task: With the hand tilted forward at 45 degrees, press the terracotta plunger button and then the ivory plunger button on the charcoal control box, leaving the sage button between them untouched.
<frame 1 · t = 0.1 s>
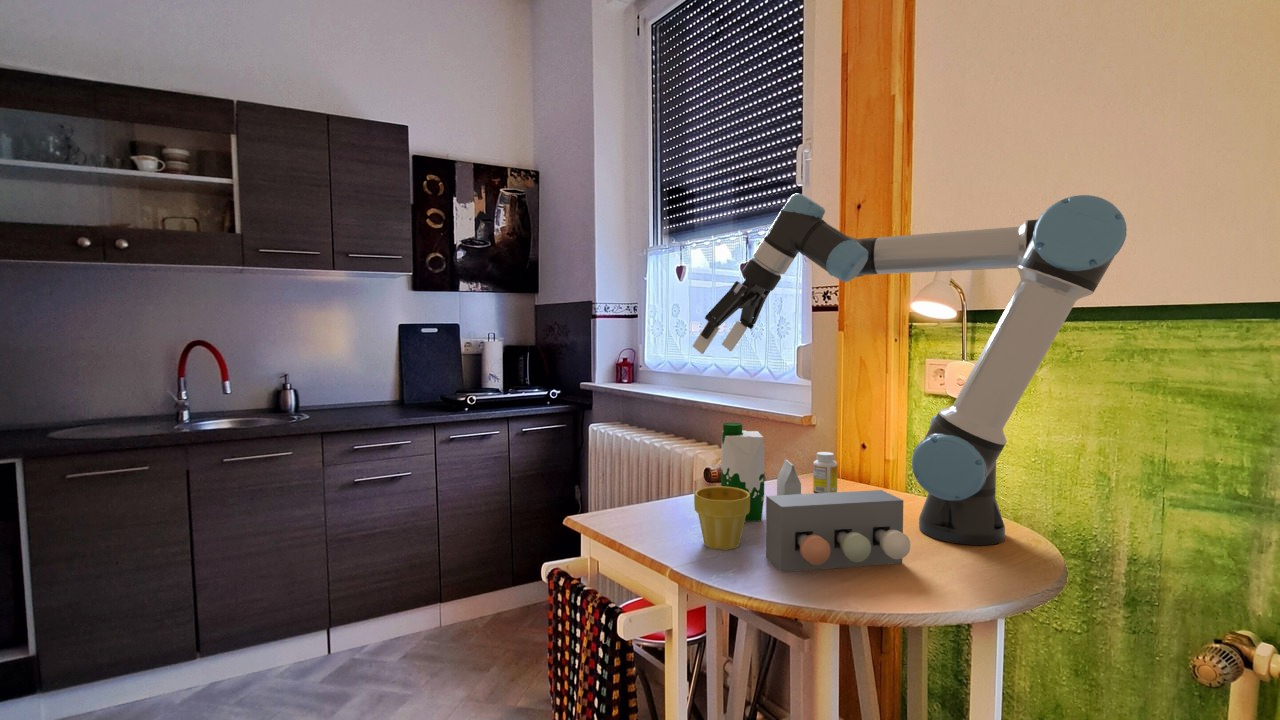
hand: (712, 349, 141), 36 cm above the table, tool tilted 35°, fingers open, 13 cm apart
control box: (833, 560, 113), on the table
ivory button: (888, 540, 108), point 5 cm above the table, slide at 0.0 cm
sage button: (849, 542, 107), point 5 cm above the table, slide at 0.0 cm
white gabled block: (788, 507, 147), on the table
supplement bottle: (825, 496, 156), on the table
terracotta button: (809, 545, 106), point 5 cm above the table, slide at 0.0 cm
plant pot: (722, 545, 122), on the table
milk carton: (742, 517, 139), on the table
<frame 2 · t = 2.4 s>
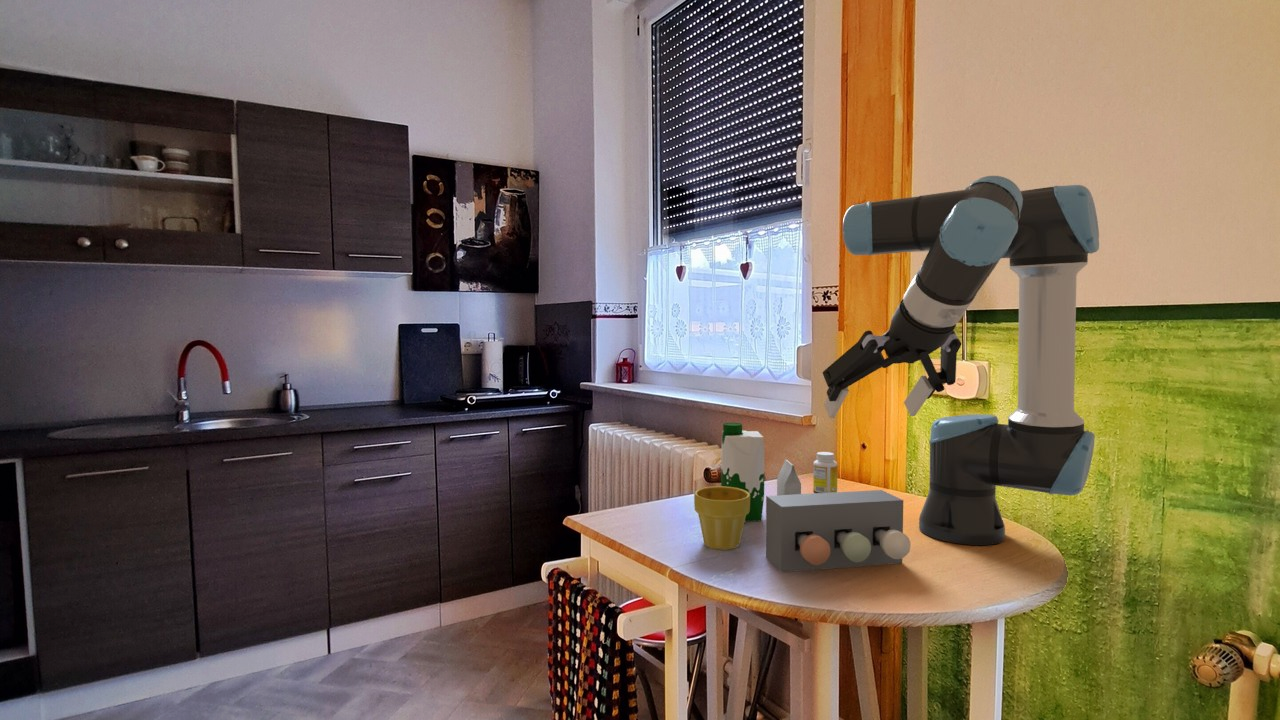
hand: (869, 410, 101), 28 cm above the table, tool tilted 45°, fingers open, 13 cm apart
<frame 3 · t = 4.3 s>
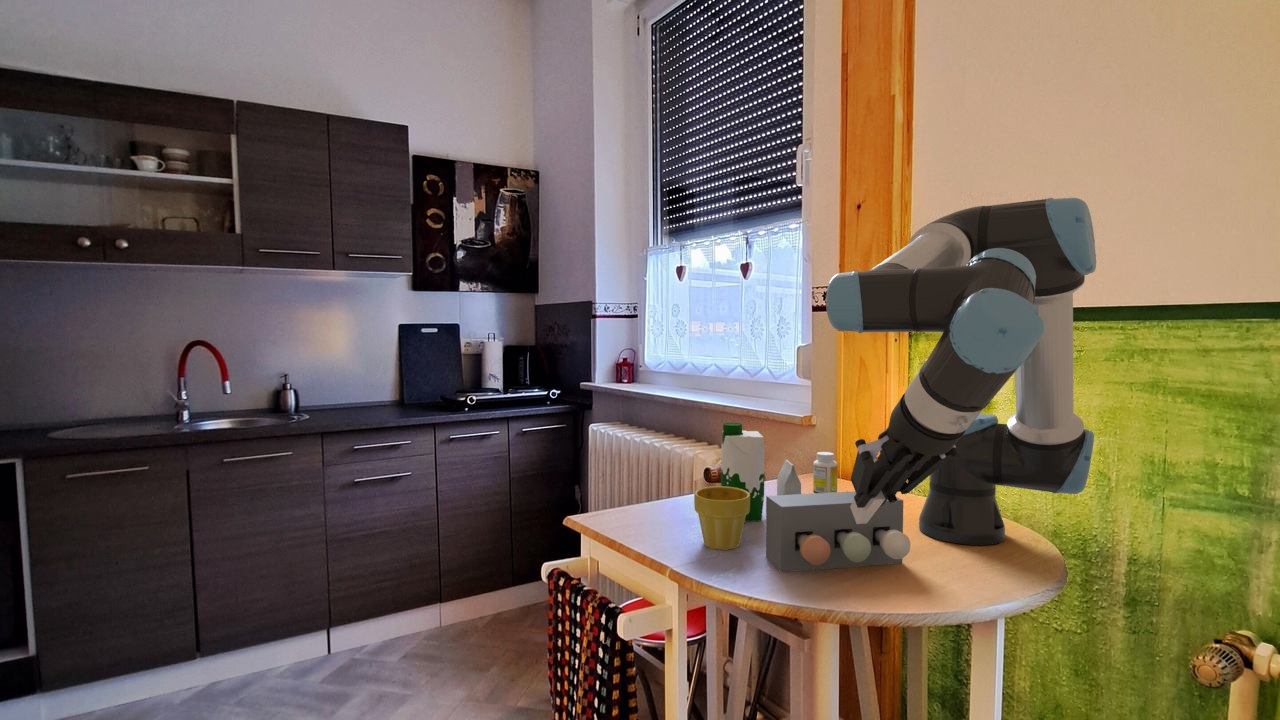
hand: (858, 514, 90), 15 cm above the table, tool tilted 45°, fingers closed
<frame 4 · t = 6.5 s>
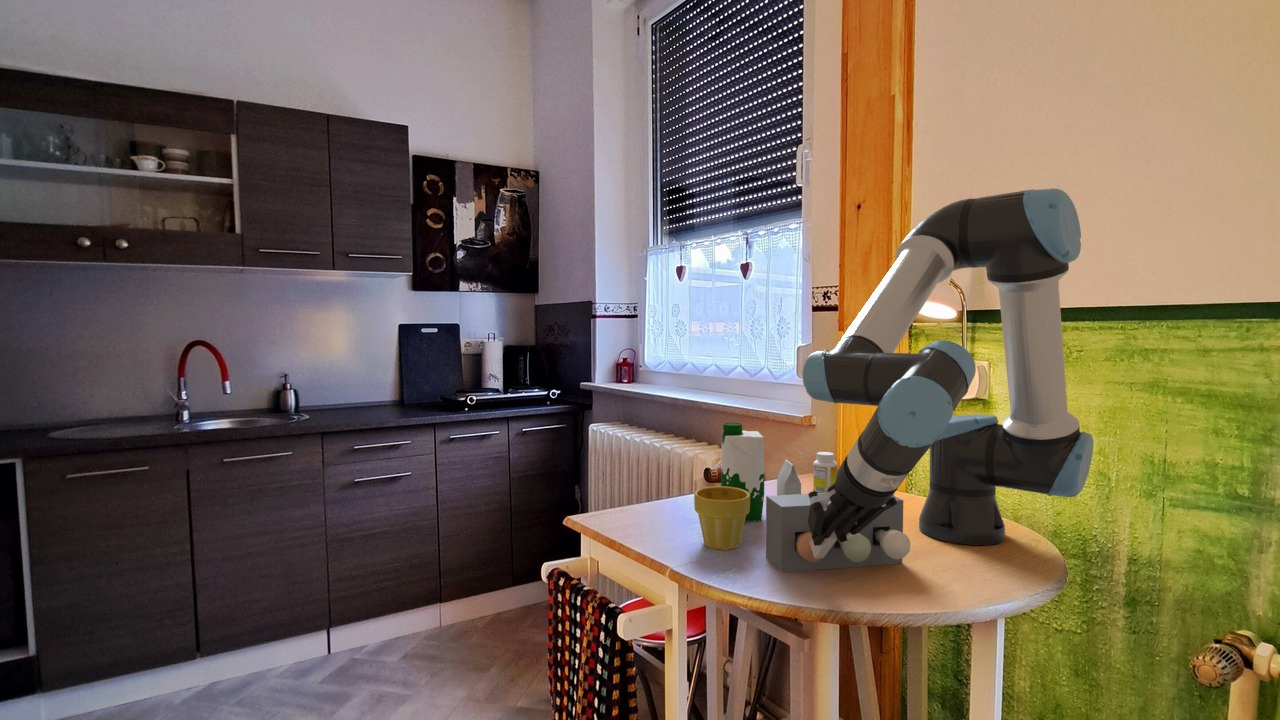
hand: (816, 550, 103), 5 cm above the table, tool tilted 45°, fingers closed
terracotta button: (806, 542, 107), point 5 cm above the table, slide at 1.4 cm, touching gripper
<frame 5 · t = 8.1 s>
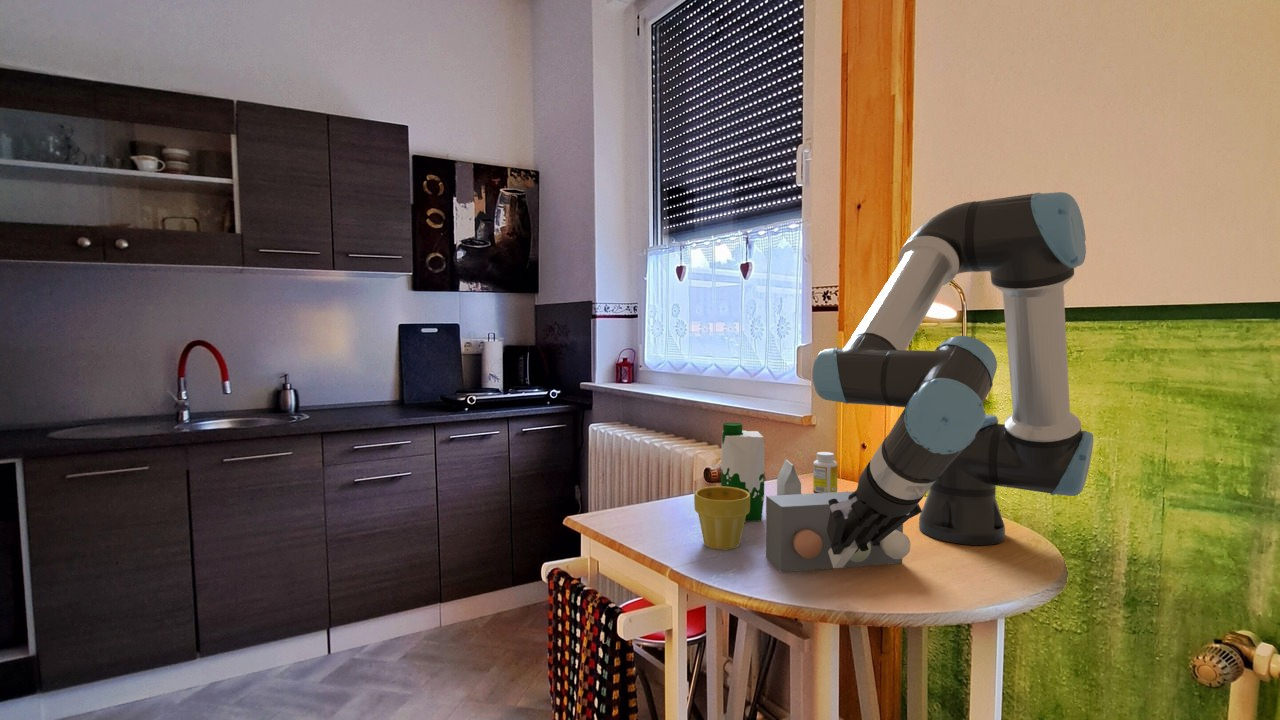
hand: (835, 559, 99), 5 cm above the table, tool tilted 45°, fingers closed
terracotta button: (802, 539, 109), point 5 cm above the table, slide at 2.9 cm
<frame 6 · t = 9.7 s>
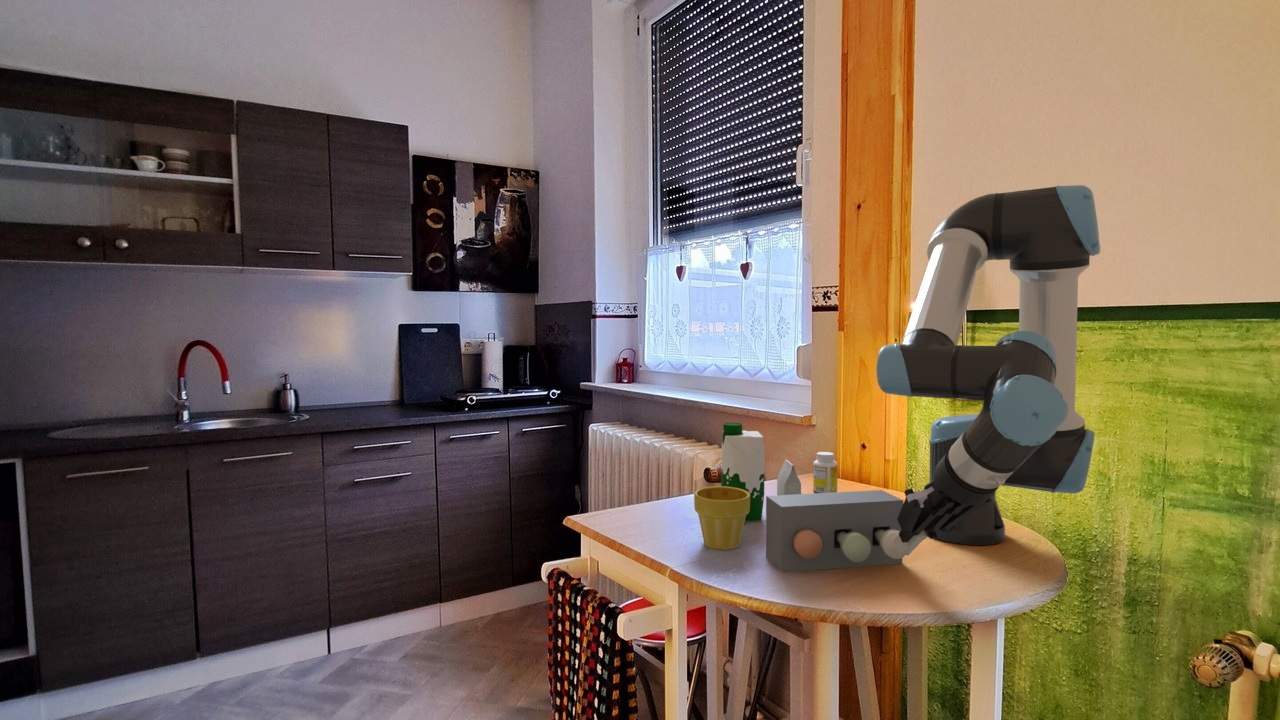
hand: (901, 547, 104), 5 cm above the table, tool tilted 45°, fingers closed
ivory button: (887, 539, 109), point 5 cm above the table, slide at 0.2 cm, touching gripper
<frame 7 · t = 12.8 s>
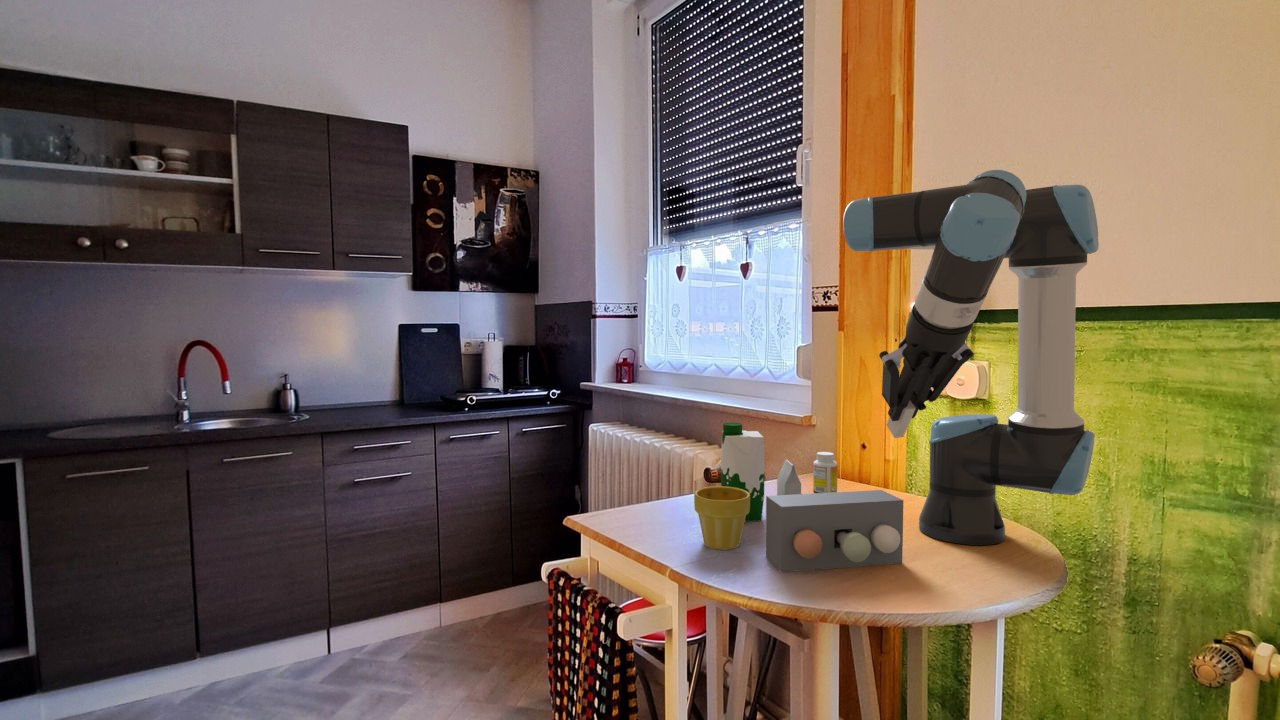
hand: (894, 430, 100), 25 cm above the table, tool tilted 40°, fingers closed
ivory button: (879, 534, 111), point 5 cm above the table, slide at 2.9 cm
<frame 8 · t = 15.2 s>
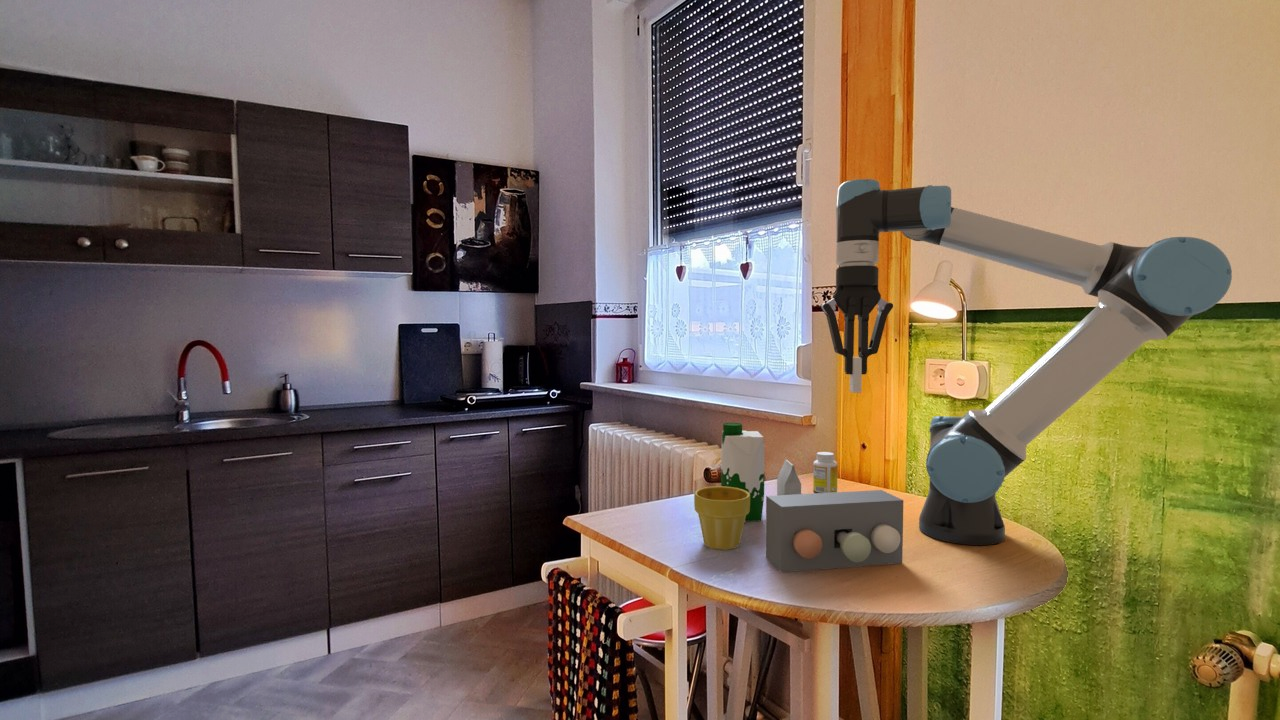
hand: (855, 391, 122), 28 cm above the table, tool pointing down, fingers closed
at the end: terracotta button slide at 2.9 cm; ivory button slide at 2.9 cm; sage button slide at 0.0 cm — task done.
